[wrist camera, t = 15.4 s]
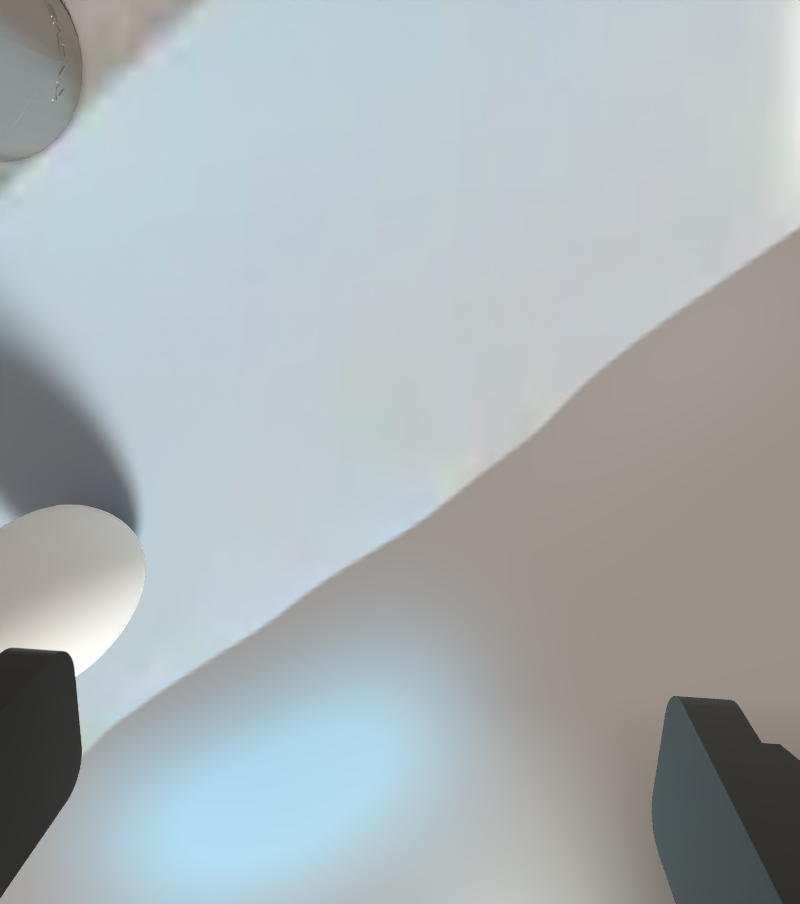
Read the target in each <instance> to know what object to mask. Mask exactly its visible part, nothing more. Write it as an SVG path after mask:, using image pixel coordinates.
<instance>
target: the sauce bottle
mask: <svg viewBox="0 0 800 904" xmlns="http://www.w3.org/2000/svg"><path fill="white" fill-rule="evenodd" d="M145 572H146V565H145V557H144V552H143V549H142V546H141V544H140V541H139V540H138V538H137V536H136V535H135V533H134V532H133V531H132V530H131V529H130V528H129V526H128V525H126V524H125V523H124V522H123V521H122V520H120V519H119V518H117V517H115V516H114V515H112V514H110V513H108V512H105V511H103V510H101V509H98V508H94V507H89V506H84V505H56V506H52V507H47V508H43V509H39V510H36V511H33V512H30V513H28V514H26V515H24V516H22V517H20V518H18V519H16V520H14V521H12V522H10V523H8V524H6V525H4V526H3V527H1V528H0V653H1V652H2V651H4V650H5V649H8V648H26V649H41V650H55V651H65V652H67V653H69V655H70V656H71V658H72V660H73V663H74V669H75V677H76V676H77V675H79V674H80V673H81V672H83V671H84V670H85V669H87V668H88V667H89V666H90V665H92V664H93V663H94V662H95V661H96V660H97V659H98V658H99V657H100V656H101V655H102V654H103V653H104V652H105V651H106V650H107V649H108V648H109V647H110V646H111V645H112V643H113V642H114V641H115V640H116V639H117V638H118V636H119V635H120V634H121V633H122V631H123V630H124V628H125V627H126V625H127V623H128V622H129V620H130V618H131V617H132V615H133V613H134V611H135V609H136V607H137V605H138V602H139V599H140V596H141V594H142V591H143V587H144V581H145Z"/></svg>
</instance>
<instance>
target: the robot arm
mask: <svg viewBox="0 0 800 904" xmlns="http://www.w3.org/2000/svg"><path fill="white" fill-rule="evenodd" d="M81 85H82V59H81V53H80V47H79V41H78V38H77V35H76V32H75V29H74V26H73V24H72V21H71V18H70V16H69V15H68V13H67V11H66V10H65V8H64V6H63V4H62V3H61V1H60V0H0V161H4V162H9V161H14V160H19V159H25V158H28V157H30V156H32V155H34V154H36V153H38V152H41V151H43V150H44V149H45V148H46V147H48V146H49V145H50V144H51V143H53V142H54V141H55V140H56V139H57V138H58V137H59V136H60V134H61V133H62V132H63V130H64V129H65V128H66V126H67V125H68V124H69V122H70V120H71V117H72V115H73V113H74V111H75V109H76V106H77V103H78V99H79V94H80V90H81ZM81 756H82V746H81V735H80V724H79V713H78V702H77V691H76V680H75V669H74V663H73V660H72V658H71V656H70V655H69V653H67V652H65V651H55V650H41V649H26V648H8V649H5V650H4V651H2V652H1V653H0V898H1V896H2V895H3V893H4V892H5V890H6V889H7V887H8V886H9V885H10V883H11V882H12V880H13V879H14V877H15V876H16V874H17V873H18V871H19V870H20V869H21V867H22V866H23V864H24V863H25V861H26V860H27V858H28V857H29V855H30V854H31V852H32V851H33V850H34V848H35V847H36V845H37V844H38V842H39V841H40V839H41V838H42V837H43V835H44V834H45V832H46V831H47V829H48V828H49V826H50V825H51V824H52V822H53V821H54V819H55V818H56V816H57V815H58V813H59V812H60V810H61V809H62V807H63V806H64V805H65V803H66V802H67V800H68V798H69V797H70V795H71V793H72V791H73V789H74V786H75V784H76V780H77V778H78V774H79V770H80V765H81ZM652 821H653V831H654V837H655V842H656V846H657V850H658V853H659V856H660V858H661V862H662V865H663V867H664V870H665V873H666V876H667V879H668V882H669V885H670V888H671V891H672V894H673V897H674V900H675V903H676V904H800V760H798V759H797V758H796V757H795V756H793V755H792V754H791V753H790V752H789V751H787V750H786V749H785V748H784V747H782V746H781V745H780V744H767V743H762V742H761V741H760V739H759V738H758V736H757V734H756V733H755V731H754V730H753V728H752V726H751V725H750V723H749V722H748V720H747V718H746V717H745V715H744V714H743V712H742V710H741V709H740V707H739V706H738V704H737V703H736V702H734V701H732V700H722V699H708V698H694V697H679V696H673V697H672V698H671V699H670V700H669V702H668V705H667V708H666V713H665V720H664V726H663V732H662V739H661V745H660V751H659V758H658V765H657V770H656V777H655V783H654V789H653V797H652Z"/></svg>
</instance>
